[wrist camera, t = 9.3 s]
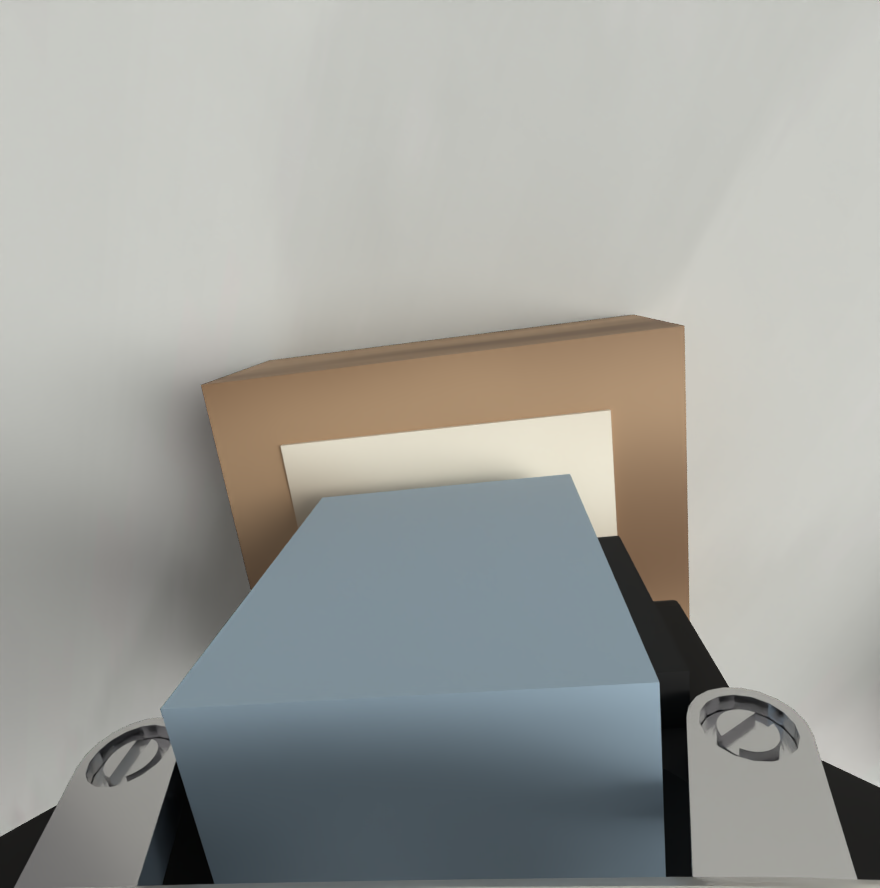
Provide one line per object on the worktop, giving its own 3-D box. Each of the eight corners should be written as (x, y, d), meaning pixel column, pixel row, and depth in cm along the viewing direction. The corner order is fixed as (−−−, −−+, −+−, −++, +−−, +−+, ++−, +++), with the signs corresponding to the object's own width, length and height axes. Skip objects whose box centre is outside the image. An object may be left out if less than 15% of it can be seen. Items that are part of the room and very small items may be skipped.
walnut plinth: (269, 360, 16) (198, 385, 12) (633, 314, 15) (686, 325, 11) (333, 663, 19) (291, 765, 15) (646, 644, 17) (692, 748, 14)
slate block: (322, 497, 12) (160, 709, 6) (570, 473, 11) (659, 681, 5) (362, 702, 13) (262, 1038, 7) (585, 689, 12) (671, 1044, 7)
